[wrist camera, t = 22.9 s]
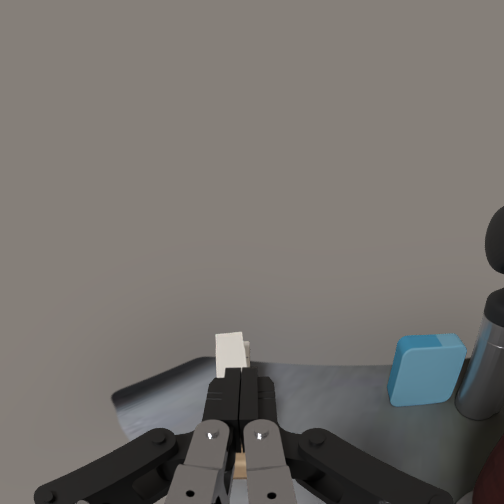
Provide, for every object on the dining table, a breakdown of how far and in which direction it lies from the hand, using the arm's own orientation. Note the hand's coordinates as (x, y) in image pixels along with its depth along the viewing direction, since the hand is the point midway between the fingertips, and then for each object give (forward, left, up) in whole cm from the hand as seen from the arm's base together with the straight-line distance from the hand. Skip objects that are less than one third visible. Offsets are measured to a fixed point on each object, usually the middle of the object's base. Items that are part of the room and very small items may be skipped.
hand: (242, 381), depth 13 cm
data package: (-17, -32, -26) cm, 45 cm away
